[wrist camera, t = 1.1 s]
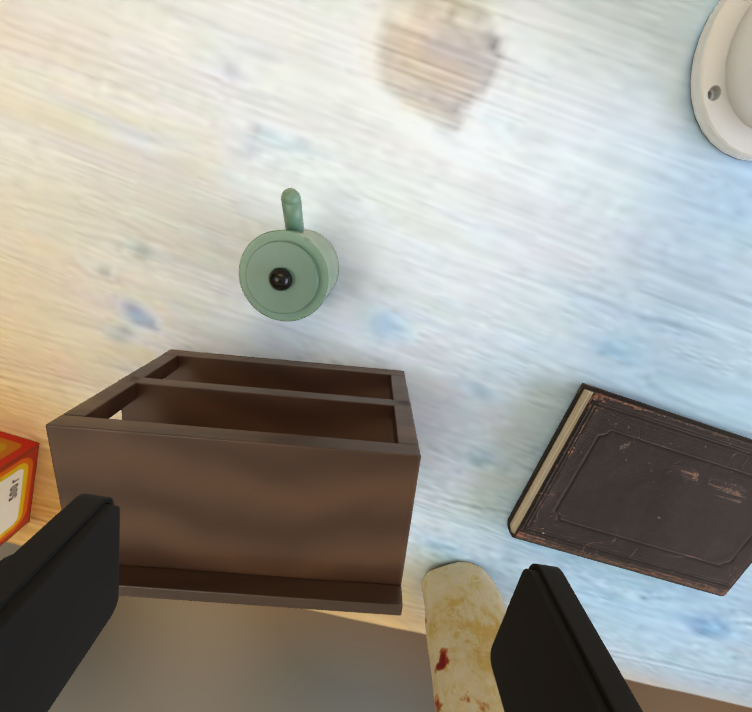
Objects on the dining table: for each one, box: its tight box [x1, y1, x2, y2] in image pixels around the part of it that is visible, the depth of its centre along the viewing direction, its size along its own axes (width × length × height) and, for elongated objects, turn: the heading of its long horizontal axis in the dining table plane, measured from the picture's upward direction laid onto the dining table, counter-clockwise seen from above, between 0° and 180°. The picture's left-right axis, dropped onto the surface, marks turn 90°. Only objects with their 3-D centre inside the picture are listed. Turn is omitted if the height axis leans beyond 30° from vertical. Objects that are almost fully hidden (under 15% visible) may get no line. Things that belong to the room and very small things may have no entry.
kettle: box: [239, 188, 339, 321], centre depth 26 cm, size 8×6×9 cm
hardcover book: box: [507, 383, 752, 596], centre depth 36 cm, size 16×23×2 cm
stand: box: [46, 350, 421, 615], centre depth 28 cm, size 10×20×15 cm, turn 84°
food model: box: [422, 562, 506, 712], centre depth 32 cm, size 10×7×20 cm
